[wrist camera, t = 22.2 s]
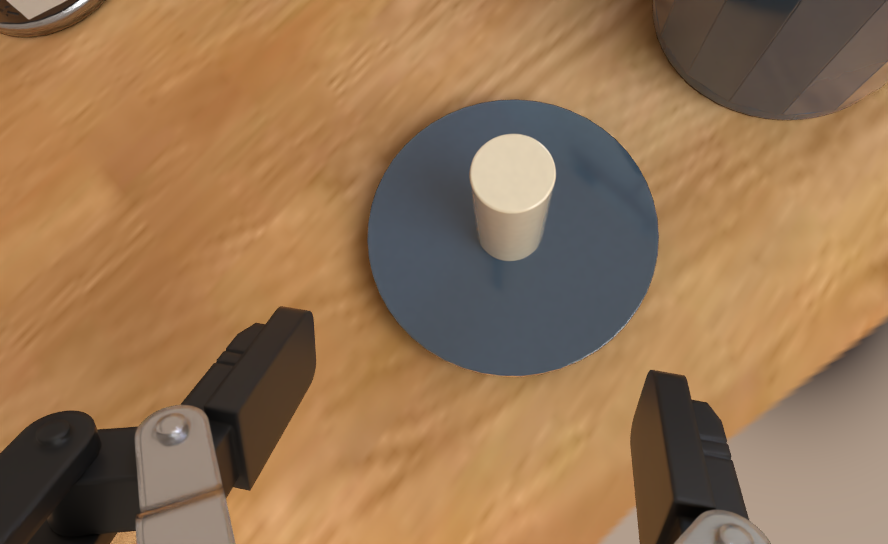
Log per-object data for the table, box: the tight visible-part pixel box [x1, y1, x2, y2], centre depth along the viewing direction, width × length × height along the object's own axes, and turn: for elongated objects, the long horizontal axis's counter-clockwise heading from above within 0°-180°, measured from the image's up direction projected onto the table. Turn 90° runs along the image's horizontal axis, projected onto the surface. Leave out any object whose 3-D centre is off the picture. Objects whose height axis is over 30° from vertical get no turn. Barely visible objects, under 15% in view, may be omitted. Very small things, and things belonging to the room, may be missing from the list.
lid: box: [367, 100, 659, 377], centre depth 23 cm, size 12×12×7 cm
